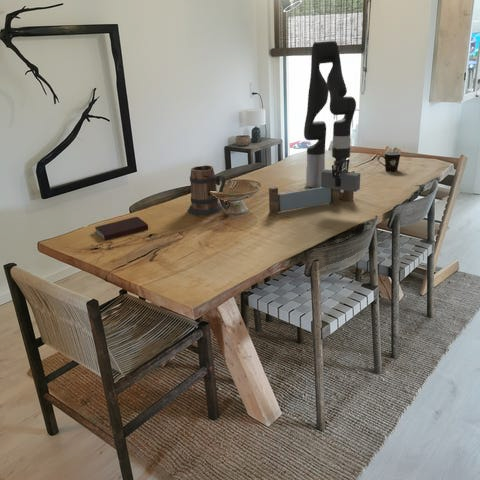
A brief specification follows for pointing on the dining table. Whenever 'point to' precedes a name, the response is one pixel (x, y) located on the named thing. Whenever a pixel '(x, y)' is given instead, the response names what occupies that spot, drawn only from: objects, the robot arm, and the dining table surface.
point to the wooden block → (346, 193)
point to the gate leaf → (303, 198)
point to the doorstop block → (348, 181)
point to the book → (121, 228)
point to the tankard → (205, 191)
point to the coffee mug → (391, 161)
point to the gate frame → (274, 199)
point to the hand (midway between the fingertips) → (340, 184)
